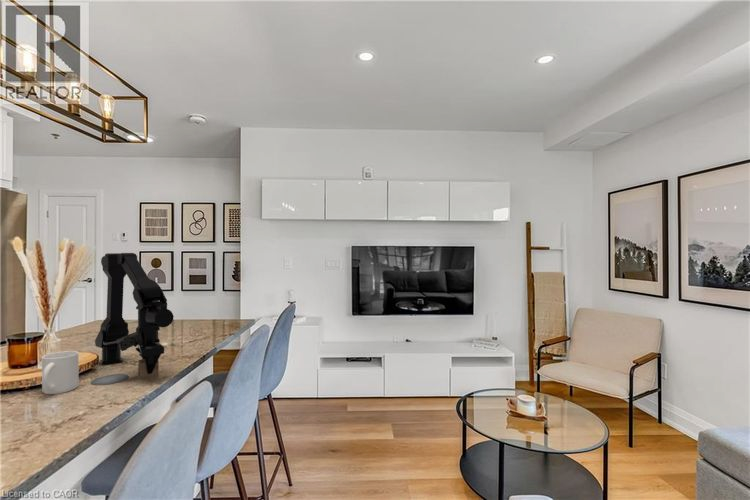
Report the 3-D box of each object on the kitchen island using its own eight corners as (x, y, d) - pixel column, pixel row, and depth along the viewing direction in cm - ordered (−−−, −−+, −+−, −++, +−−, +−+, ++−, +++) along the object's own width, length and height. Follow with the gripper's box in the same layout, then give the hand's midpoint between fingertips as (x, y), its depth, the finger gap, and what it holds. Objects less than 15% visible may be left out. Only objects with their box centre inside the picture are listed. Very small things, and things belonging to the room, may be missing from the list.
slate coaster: (89, 378, 122) (89, 378, 122) (127, 372, 128) (127, 371, 128) (91, 387, 114) (91, 387, 114) (131, 380, 120) (131, 379, 120)
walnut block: (138, 375, 125) (138, 359, 125) (155, 371, 129) (155, 357, 129) (140, 379, 122) (140, 363, 122) (158, 375, 125) (158, 360, 125)
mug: (59, 398, 105) (59, 361, 105) (25, 401, 104) (25, 363, 104) (84, 383, 117) (84, 350, 117) (53, 385, 116) (53, 351, 116)
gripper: (115, 322, 127) (115, 369, 127) (122, 332, 113) (122, 385, 113) (153, 318, 134) (154, 363, 134) (164, 327, 120) (164, 377, 120)
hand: (148, 371), depth 125 cm, fingers closed on walnut block, 5 cm apart
